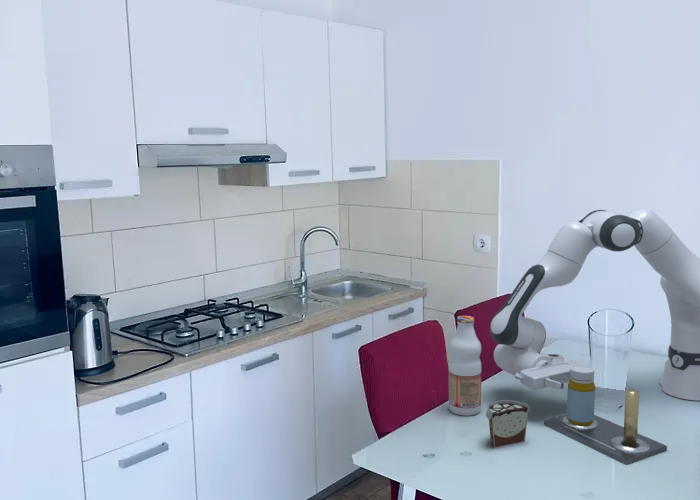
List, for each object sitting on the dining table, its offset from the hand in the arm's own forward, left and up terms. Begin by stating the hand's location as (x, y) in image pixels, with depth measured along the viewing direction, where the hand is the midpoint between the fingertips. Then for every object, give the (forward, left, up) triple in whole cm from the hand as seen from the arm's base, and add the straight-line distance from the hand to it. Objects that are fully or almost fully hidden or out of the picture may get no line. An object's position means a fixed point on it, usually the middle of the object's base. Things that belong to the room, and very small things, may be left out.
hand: (574, 383), depth 177 cm
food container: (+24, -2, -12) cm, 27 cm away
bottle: (0, +2, -10) cm, 11 cm away
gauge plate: (0, +10, -12) cm, 15 cm away
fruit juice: (+20, -23, -12) cm, 32 cm away
